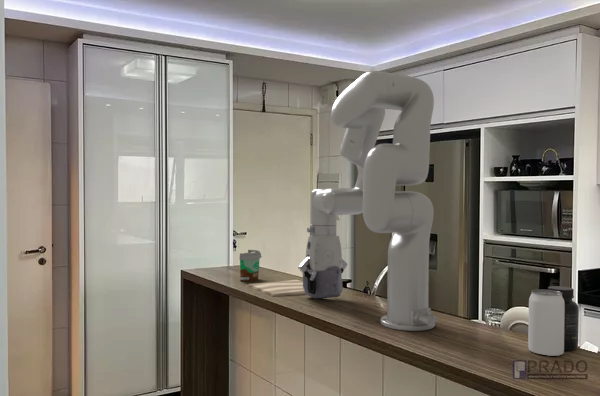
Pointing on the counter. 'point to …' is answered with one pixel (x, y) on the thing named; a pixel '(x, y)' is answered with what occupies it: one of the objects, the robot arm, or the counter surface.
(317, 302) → the counter surface
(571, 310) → the supplement bottle
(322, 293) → the stone block
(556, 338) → the can
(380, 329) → the counter surface
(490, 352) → the counter surface
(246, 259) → the food container
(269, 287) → the striped cloth
